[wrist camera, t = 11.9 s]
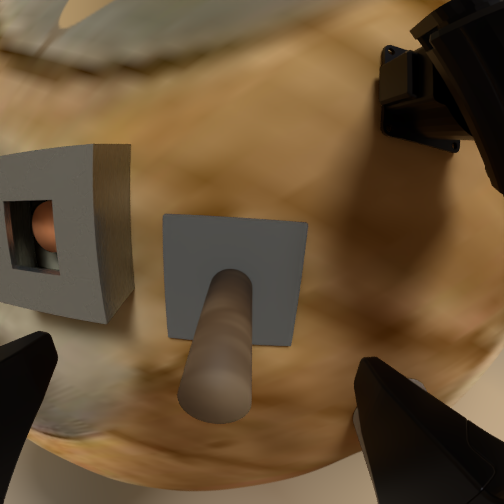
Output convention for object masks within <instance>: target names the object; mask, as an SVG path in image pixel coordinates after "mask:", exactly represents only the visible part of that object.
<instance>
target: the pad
mask: <svg viewBox="0 0 504 504" xmlns="http://www.w3.org/2000/svg"><path fill="white" fill-rule="evenodd" d="M307 231H308V224H307V223H306V222H293V221H280V220H266V219H251V218H236V217H219V216H201V215H181V214H164V215H163V259H164V283H165V301H166V316H167V328H168V337H170V338H179V339H188V340H193V338H194V335H195V331H196V328H197V325H198V321H199V318H200V315H201V312H202V308H203V305H204V302H205V299H206V295H207V292H208V289H209V286H210V283H211V280H212V278H213V277H214V275H216V274H217V273H218V272H220V271H222V270H225V269H236V270H239V271H241V272H243V273H245V274H246V275H247V276H248V277H249V279H250V280H251V283H252V287H253V293H252V344H253V345H275V346H291V343H292V337H293V330H294V324H295V318H296V311H297V305H298V298H299V291H300V284H301V277H302V270H303V263H304V255H305V247H306V239H307Z"/></svg>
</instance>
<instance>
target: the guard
mask: <svg viewBox="0 0 504 504" xmlns="http://www.w3.org/2000/svg"><path fill="white" fill-rule="evenodd" d="M130 148H131V144H87V145H76V146H66V147H57V148H49V149H42V150H34V151H28V152H21V153H15V154H9V155H4V156H0V302H3V303H7V304H11V305H14V306H19V307H23V308H27V309H31V310H35V311H40V312H44V313H49V314H54V315H58V316H63V317H68V318H74V319H79V320H84V321H90V322H96V323H101V324H107V323H108V322H109V321H110V319H111V318H112V317H113V316H114V314H115V313H116V312H117V310H118V309H119V308H120V306H121V305H122V304H123V302H124V301H125V300H126V299H127V297H128V296H129V295H130V294H131V292H132V291H133V290H134V288H135V287H134V276H133V263H132V248H131V227H130ZM30 200H52V207H53V221H54V231H55V241H56V249H57V256H58V263H59V270H55V269H47V268H40V267H38V265H37V259H36V253H35V246H34V238H33V230H32V221H31V209H30Z"/></svg>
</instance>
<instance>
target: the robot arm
mask: <svg viewBox="0 0 504 504" xmlns="http://www.w3.org/2000/svg"><path fill="white" fill-rule="evenodd" d="M410 33H411V34H412V35H413V37H414V38H415V39H418V41H419V42H420V44H421V45H422V47H421V48H419V49H417V50H415V51H412V50H405V49H402V48H398V47H395V46H392V45H387V46H386V47H384V48H383V51H382V56H383V65H382V66H381V67H380V77H379V102H380V104H381V105H382V111H381V131H382V133H383V134H384V135H386V136H389V137H394V138H398V139H402V140H407V141H411V142H415V143H419V144H423V145H426V146H430V147H434V148H437V149H441V150H444V151H448V152H451V153H457V152H458V151H459V148H460V140H474V141H475V143H476V145H477V148H478V150H479V152H480V155H481V157H482V160H483V162H484V165H485V170H486V173H487V175H488V177H489V178H490V181H491V184H492V186H493V187H494V188H495V189H496V190H498V191H499V192H500V193H501V194H503V196H504V0H451V1H449V2H447V3H446V4H444V5H442V6H440V7H439V8H437V9H436V10H434V11H433V12H431V13H430V14H429V15H428V16H427V17H425V18H424V19H423V20H422V21H421V22H419V23H418V24H417V25H416V26H415V27H414V28H412V29H411V30H410ZM388 50H390V51H391V52H392V55H391V54H390V53H389V52H388ZM387 125H389V126H390V127H391V131H390V132H388V131H387V128H386V127H387ZM452 144H454V148H453V147H452ZM57 361H58V354H57V351H56V348H55V346H54V343H53V340H52V337H51V335H50V334H49V333H47V332H43V331H37V332H34V333H32V334H29V335H27V336H24V337H22V338H19V339H17V340H15V341H12V342H10V343H7V344H5V345H2V346H0V504H3V503H4V499H5V496H6V493H7V490H8V486H9V483H10V480H11V477H12V475H13V472H14V469H15V466H16V463H17V461H18V458H19V455H20V453H21V450H22V447H23V445H24V442H25V440H26V438H27V435H28V433H29V431H30V428H31V426H32V424H33V421H34V419H35V417H36V415H37V412H38V410H39V408H40V406H41V403H42V401H43V399H44V396H45V394H46V391H47V388H48V385H49V382H50V380H51V377H52V375H53V372H54V369H55V367H56V364H57ZM354 390H355V396H356V402H357V409H358V415H359V422H360V428H361V434H362V438H363V442H364V445H365V449H366V453H367V457H368V461H369V464H370V468H371V472H372V476H373V480H374V484H375V488H376V493H377V497H378V501H379V504H504V442H503V441H501V440H499V439H498V438H496V437H494V436H492V435H491V434H489V433H488V432H486V431H484V430H483V429H481V428H480V427H478V426H476V425H475V424H474V423H472V422H471V421H469V420H467V419H466V418H465V417H463V416H462V415H460V414H459V413H457V412H456V411H454V410H453V409H451V408H450V407H449V406H447V405H446V404H444V403H443V402H441V401H440V400H438V399H437V398H435V397H434V396H432V395H431V394H430V393H428V392H427V391H425V390H424V389H422V388H421V387H419V386H418V385H417V384H415V383H414V382H412V381H411V380H409V379H408V378H406V377H405V376H404V375H402V374H401V373H399V372H398V371H396V370H395V369H393V368H392V367H391V366H389V365H388V364H386V363H385V362H383V361H382V360H381V359H379V358H378V357H364V358H362V359H361V361H360V364H359V367H358V370H357V373H356V377H355V380H354Z"/></svg>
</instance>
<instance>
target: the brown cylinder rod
mask: <svg viewBox="0 0 504 504" xmlns="http://www.w3.org/2000/svg"><path fill="white" fill-rule="evenodd" d="M252 293H253V287H252V283H251V280H250V279H249V277H248V276H247V275H246V274H245V273H243V272H241V271H239V270H236V269H225V270H222V271H220V272H218V273H217V274H216V275H214V277H213V278H212V280H211V283H210V286H209V289H208V292H207V295H206V299H205V302H204V305H203V308H202V312H201V315H200V318H199V321H198V325H197V328H196V331H195V335H194V338H193V341H192V345H191V348H190V351H189V355H188V358H187V362H186V365H185V369H184V372H183V376H182V379H181V382H180V386H179V390H178V394H177V397H178V401H179V404H180V405H181V407H182V408H183V410H184V411H186V412H187V413H188V414H189V415H191V416H192V417H194V418H196V419H198V420H201V421H204V422H208V423H214V424H225V423H231V422H234V421H237V420H239V419H241V418H243V417H244V416H245V415H246V414H247V413H248V412H249V410H250V408H251V399H252Z"/></svg>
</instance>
